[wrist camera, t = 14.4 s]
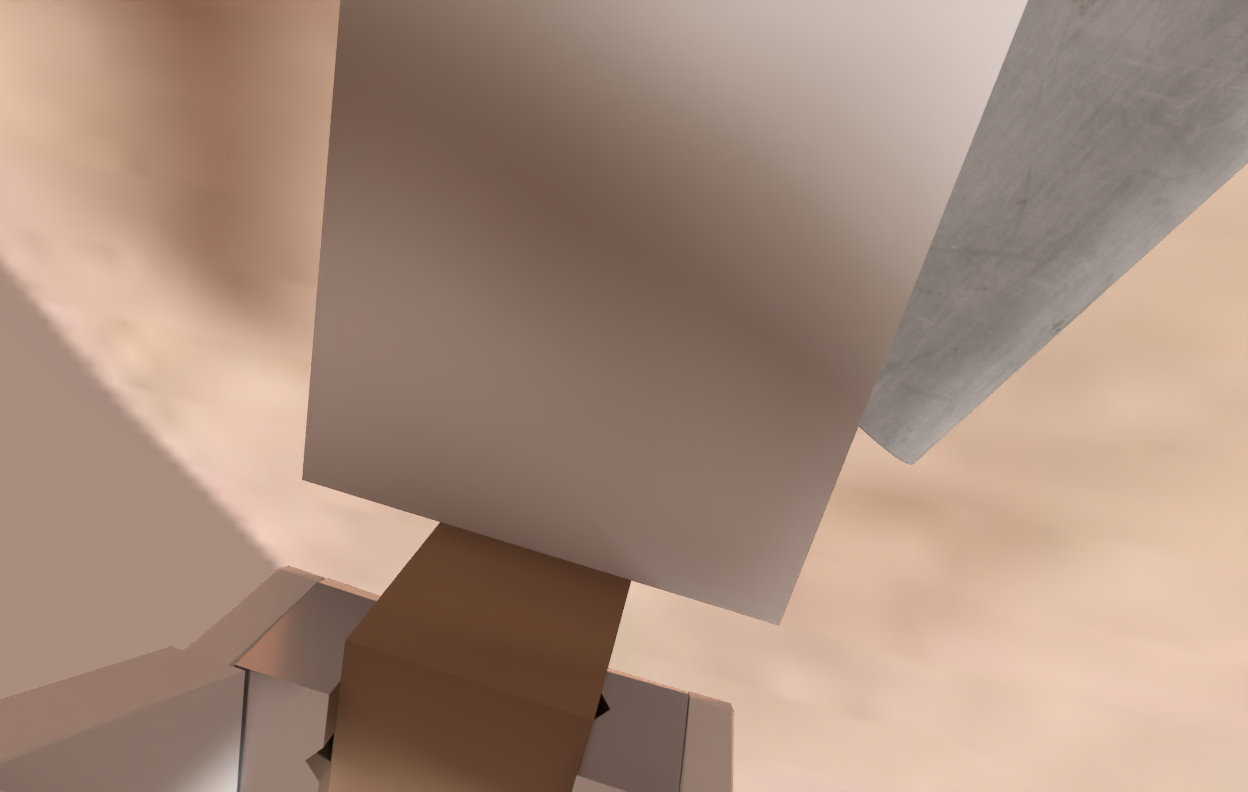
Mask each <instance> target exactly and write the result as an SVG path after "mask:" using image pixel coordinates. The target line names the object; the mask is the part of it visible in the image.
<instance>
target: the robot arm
mask: <svg viewBox="0 0 1248 792" xmlns="http://www.w3.org/2000/svg"><path fill="white" fill-rule="evenodd" d="M380 597H381V596H379V595H376V594H373V593H370V592H367V591H364V590H361V589H358V588H355V587H352V586H349V585H346V584H344V583H341V582H338V581H335V580H332V579H329V578H327V579H325V578H323V577H321V576H318V575H315V574H312V573H309V572H306V571H303V570H300V569H297V568H294V567H291V566H287V567H283V568H280V569H277V570H276V571H274V572H273V573H272V574H271V575H270V576H268V577H267V578H266V579H265V580H264V581H263V582H262V583H260V584H259V585H258V586H257V587H256V588H255V589H254V590H252V591H251V592H250V593H249V594H248V595H247V596H246V597H244V598H243V599H242V600H241V601H240V602H239V603H238V604H236V605H235V606H234V607H233V608H232V609H231V610H229V611H228V612H227V613H226V614H225V615H224V616H223V617H222V618H220V619H219V620H218V621H217V622H216V623H215V624H213V625H212V626H211V627H210V628H209V629H208V630H207V631H205V632H204V633H203V634H202V635H201V636H200V637H199V638H197V639H196V640H195V641H194V642H193V643H192V644H191V645H189V647H187V648H186V649H185V650H180V649H177V648H174V647H168V648H165V649H161V650H158V651H155V652H152V653H149V654H146V655H143V656H139V657H136V658H132V659H129V660H126V661H123V662H120V663H116V664H113V665H110V666H107V667H104V668H101V669H97V670H94V671H91V672H88V673H85V674H81V675H78V676H75V677H71V678H68V679H65V680H62V681H59V682H56V683H52V684H49V685H46V686H43V687H39V688H36V689H33V690H30V691H26V692H23V693H20V694H17V695H14V696H10V697H7V698H4V699H1V700H0V792H328V791H329V783H330V775H331V767H332V763H331V757H332V749H333V740H334V732H335V731H336V722H337V712H338V702H339V692H340V682H341V672H342V663H343V654H344V646H345V640H346V639H347V638H348V637H349V635H350V634H351V633H352V632H353V630H354V629H355V628H356V627H357V625H358V624H359V623H360V622H361V620H362V619H363V618H364V617H365V615H366V614H367V613H368V612H369V610H370V609H371V608H372V607H373V605H374V604H375V603H376V602H377V600H378V599H379V598H380ZM733 738H734V710H733V708H732V706H731V703H727V702H724V701H720V700H717V699H713V698H710V697H707V696H703V695H700V694H696V693H693V692H688V693H687V692H686V691H682V690H679V689H676V688H673V687H669V686H666V685H663V684H659V683H656V682H653V681H650V680H646V679H643V678H640V677H636V676H633V675H630V674H627V673H623V672H620V671H617V670H614V669H610V668H608V669H607V673H606V677H605V681H604V684H603V688H602V692H601V696H600V699H599V703H598V707H597V711H596V714H595V718H594V722H593V725H592V728H591V732H590V735H589V739H588V742H587V745H586V749H585V752H584V755H583V758H581V761H580V764H579V767H578V770H577V774H576V777H575V780H574V784H573V787H572V790H571V792H733Z"/></svg>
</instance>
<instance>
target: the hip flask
mask: <svg viewBox="0 0 1248 792" xmlns="http://www.w3.org/2000/svg"><path fill="white" fill-rule="evenodd" d="M1247 163H1248V0H1028V2H1027V4H1026V7H1025V9H1024V12H1023V14H1022V17H1021V19H1020V22H1019V24H1018V27H1017V29H1016V32H1015V34H1014V37H1013V39H1012V42H1011V44H1010V47H1009V49H1008V52H1007V54H1006V57H1005V59H1004V62H1003V64H1002V67H1001V69H1000V72H999V74H998V77H997V79H996V82H995V84H994V87H993V89H992V92H991V94H990V97H989V99H988V102H987V104H986V107H985V110H984V112H983V115H982V117H981V120H980V122H979V125H978V127H977V130H976V132H975V135H974V137H973V140H972V142H971V145H970V147H969V150H968V152H967V155H966V157H965V160H964V162H963V165H962V167H961V170H960V172H959V175H958V177H957V180H956V182H955V185H954V187H953V190H952V192H951V195H950V197H949V200H948V202H947V205H946V207H945V210H944V212H943V215H942V218H941V220H940V223H939V225H938V228H937V230H936V233H935V235H934V238H933V240H932V243H931V245H930V248H929V250H928V253H927V255H926V258H925V260H924V263H923V265H922V268H921V270H920V273H919V275H918V278H917V280H916V283H915V285H914V288H913V290H912V293H911V295H910V298H909V300H908V303H907V305H906V308H905V310H904V313H903V315H902V318H901V320H900V323H899V325H898V328H897V331H896V333H895V336H894V338H893V341H892V343H891V346H890V348H889V351H888V353H887V356H886V358H885V361H884V363H883V366H882V368H881V371H880V373H879V376H878V378H877V381H876V383H875V386H874V388H873V391H872V393H871V396H870V398H869V401H868V403H867V406H866V408H865V411H864V413H863V416H862V418H861V421H860V423H859V427H860V428H861V429H862V430H863V431H865V432H866V433H867V434H868V435H869V436H870V437H871V438H872V439H874V440H875V441H876V442H877V443H878V444H879V445H881V446H882V447H883V448H884V449H886V450H887V451H888V452H889V453H891V454H892V455H893V456H895V457H896V458H898V459H899V460H901V461H903V462H905V463H907V464H914V463H915V462H916V461H917V460H919V459H920V458H921V457H922V456H923V455H924V454H925V453H926V452H927V451H929V450H930V449H931V448H932V447H933V446H934V445H935V444H936V443H937V442H938V441H940V440H941V439H942V438H943V437H944V436H945V435H946V434H947V433H948V432H950V431H951V430H952V429H953V428H954V427H955V426H956V425H957V424H958V423H960V422H961V421H962V420H963V419H964V418H965V417H966V416H967V415H968V414H970V413H971V412H972V411H973V410H974V409H975V408H976V407H977V406H978V405H980V404H981V403H982V402H983V401H984V400H985V399H986V398H987V397H988V396H990V395H991V394H992V393H993V392H994V391H995V390H996V389H997V388H998V387H1000V386H1001V385H1002V384H1003V383H1004V382H1005V381H1006V380H1007V379H1008V378H1010V377H1011V376H1012V375H1013V374H1014V373H1015V372H1016V371H1017V370H1018V369H1019V368H1021V367H1022V366H1023V365H1024V364H1025V363H1026V362H1027V361H1028V360H1029V359H1031V358H1032V357H1033V356H1034V355H1035V354H1036V353H1037V352H1038V351H1039V350H1041V349H1042V348H1043V347H1044V346H1045V345H1046V344H1047V343H1048V342H1049V341H1051V340H1052V339H1053V338H1054V337H1055V336H1056V335H1057V334H1058V333H1059V332H1061V331H1062V330H1063V329H1064V328H1065V327H1066V326H1067V325H1068V324H1069V323H1071V322H1072V321H1073V320H1074V319H1075V318H1076V317H1077V316H1078V315H1079V314H1081V313H1082V312H1083V311H1084V310H1085V309H1086V308H1087V307H1088V306H1089V305H1091V304H1092V303H1093V302H1094V301H1095V300H1096V299H1097V298H1098V297H1099V296H1100V295H1102V294H1103V293H1104V292H1105V291H1106V290H1107V289H1108V288H1109V287H1110V286H1112V285H1113V284H1114V283H1115V282H1116V281H1117V280H1118V279H1119V278H1120V277H1122V276H1123V275H1124V274H1125V273H1126V272H1127V271H1128V270H1129V269H1130V268H1132V267H1133V266H1134V265H1135V264H1136V263H1137V262H1138V261H1139V260H1140V259H1142V258H1143V257H1144V256H1145V255H1146V254H1147V253H1148V252H1149V251H1150V250H1152V249H1153V248H1154V247H1155V246H1156V245H1157V244H1158V243H1159V242H1160V241H1162V240H1163V239H1164V238H1165V237H1166V236H1167V235H1168V234H1169V233H1170V232H1172V231H1173V230H1174V229H1175V228H1176V227H1177V226H1178V225H1179V224H1180V223H1181V222H1183V221H1184V220H1185V219H1186V218H1187V217H1188V216H1189V215H1190V214H1191V213H1193V212H1194V211H1195V210H1196V209H1197V208H1198V207H1199V206H1200V205H1201V204H1203V203H1204V202H1205V201H1206V200H1207V199H1208V198H1209V197H1210V196H1211V195H1213V194H1214V193H1215V192H1216V191H1217V190H1218V189H1219V188H1220V187H1221V186H1223V185H1224V184H1225V183H1226V182H1227V181H1228V180H1229V179H1230V178H1231V177H1233V176H1234V175H1235V174H1236V173H1237V172H1238V171H1239V170H1240V169H1241V168H1243V167H1244V166H1245V165H1246V164H1247Z"/></svg>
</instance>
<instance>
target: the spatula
mask: <svg viewBox="0 0 1248 792" xmlns="http://www.w3.org/2000/svg"><path fill="white" fill-rule="evenodd" d="M1027 2H1028V0H341V1H340V13H339V26H338V38H337V51H336V63H335V76H334V88H333V101H332V113H331V126H330V138H329V151H328V163H327V176H326V188H325V201H324V213H323V226H322V238H321V251H320V263H319V276H318V288H317V301H316V313H315V326H314V338H313V351H312V363H311V376H310V388H309V401H308V413H307V426H306V438H305V451H304V463H303V476H302V480H305V481H308V482H311V483H315V484H318V485H321V486H324V487H328V488H331V489H334V490H337V491H341V492H344V493H347V494H351V495H354V496H357V497H360V498H364V499H367V500H370V501H373V502H377V503H380V504H383V505H387V506H390V507H393V508H396V509H400V510H403V511H406V512H409V513H413V514H416V515H419V516H423V517H426V518H429V519H432V520H436V521H439V522H440V523H439V524H438V526H437V527H436V528H435V529H434V531H433V532H432V533H431V534H430V536H429V537H428V538H427V539H426V541H425V542H424V543H423V544H422V546H421V547H420V548H419V549H418V551H417V552H416V553H415V554H414V556H413V557H412V558H411V559H410V561H409V562H408V563H407V564H406V566H405V567H404V568H403V569H402V571H401V572H400V573H399V574H398V576H397V577H396V578H395V579H394V581H393V582H392V583H391V584H390V585H389V587H388V588H387V589H386V590H385V592H384V593H383V594H382V595H381V597H380V598H379V599H378V600H377V602H376V603H375V604H374V605H373V607H372V608H371V609H370V610H369V612H368V613H367V614H366V615H365V617H364V618H363V619H362V620H361V622H360V623H359V624H358V625H357V627H356V628H355V629H354V630H353V632H352V633H351V634H350V635H349V637H348V638H347V639H346V640H345V646H344V654H343V663H342V672H341V682H340V692H339V702H338V712H337V722H336V731H335V732H334V740H333V749H332V757H331V763H332V767H331V775H330V783H329V791H328V792H571V790H572V787H573V784H574V780H575V777H576V774H577V770H578V767H579V764H580V761H581V758H583V755H584V752H585V749H586V745H587V742H588V739H589V735H590V732H591V728H592V725H593V722H594V718H595V714H596V711H597V707H598V703H599V699H600V696H601V692H602V688H603V684H604V681H605V677H606V673H607V669H608V665H609V662H610V658H611V654H612V650H613V647H614V643H615V639H616V635H617V632H618V628H619V624H620V620H621V617H622V613H623V609H624V605H625V602H626V598H627V594H628V590H629V587H630V583H631V580H632V581H635V582H639V583H642V584H645V585H649V586H652V587H655V588H658V589H662V590H665V591H668V592H671V593H675V594H678V595H681V596H685V597H688V598H691V599H694V600H698V601H701V602H704V603H707V604H711V605H714V606H717V607H721V608H724V609H727V610H730V611H734V612H737V613H740V614H743V615H747V616H750V617H753V618H757V619H760V620H763V621H766V622H770V623H773V624H776V625H779V624H780V622H781V619H782V617H783V614H784V612H785V609H786V607H787V604H788V602H789V599H790V597H791V594H792V592H793V589H794V587H795V584H796V582H797V579H798V577H799V574H800V572H801V569H802V567H803V564H804V562H805V559H806V557H807V554H808V552H809V549H810V546H811V544H812V541H813V539H814V536H815V534H816V531H817V529H818V526H819V524H820V521H821V519H822V516H823V514H824V511H825V509H826V506H827V504H828V501H829V499H830V496H831V494H832V491H833V489H834V486H835V484H836V481H837V479H838V476H839V474H840V471H841V469H842V466H843V464H844V461H845V459H846V456H847V454H848V451H849V449H850V446H851V444H852V441H853V439H854V436H855V433H856V431H857V428H858V426H859V423H860V421H861V418H862V416H863V413H864V411H865V408H866V406H867V403H868V401H869V398H870V396H871V393H872V391H873V388H874V386H875V383H876V381H877V378H878V376H879V373H880V371H881V368H882V366H883V363H884V361H885V358H886V356H887V353H888V351H889V348H890V346H891V343H892V341H893V338H894V336H895V333H896V331H897V328H898V325H899V323H900V320H901V318H902V315H903V313H904V310H905V308H906V305H907V303H908V300H909V298H910V295H911V293H912V290H913V288H914V285H915V283H916V280H917V278H918V275H919V273H920V270H921V268H922V265H923V263H924V260H925V258H926V255H927V253H928V250H929V248H930V245H931V243H932V240H933V238H934V235H935V233H936V230H937V228H938V225H939V223H940V220H941V218H942V215H943V212H944V210H945V207H946V205H947V202H948V200H949V197H950V195H951V192H952V190H953V187H954V185H955V182H956V180H957V177H958V175H959V172H960V170H961V167H962V165H963V162H964V160H965V157H966V155H967V152H968V150H969V147H970V145H971V142H972V140H973V137H974V135H975V132H976V130H977V127H978V125H979V122H980V120H981V117H982V115H983V112H984V110H985V107H986V104H987V102H988V99H989V97H990V94H991V92H992V89H993V87H994V84H995V82H996V79H997V77H998V74H999V72H1000V69H1001V67H1002V64H1003V62H1004V59H1005V57H1006V54H1007V52H1008V49H1009V47H1010V44H1011V42H1012V39H1013V37H1014V34H1015V32H1016V29H1017V27H1018V24H1019V22H1020V19H1021V17H1022V14H1023V12H1024V9H1025V7H1026V4H1027Z"/></svg>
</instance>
